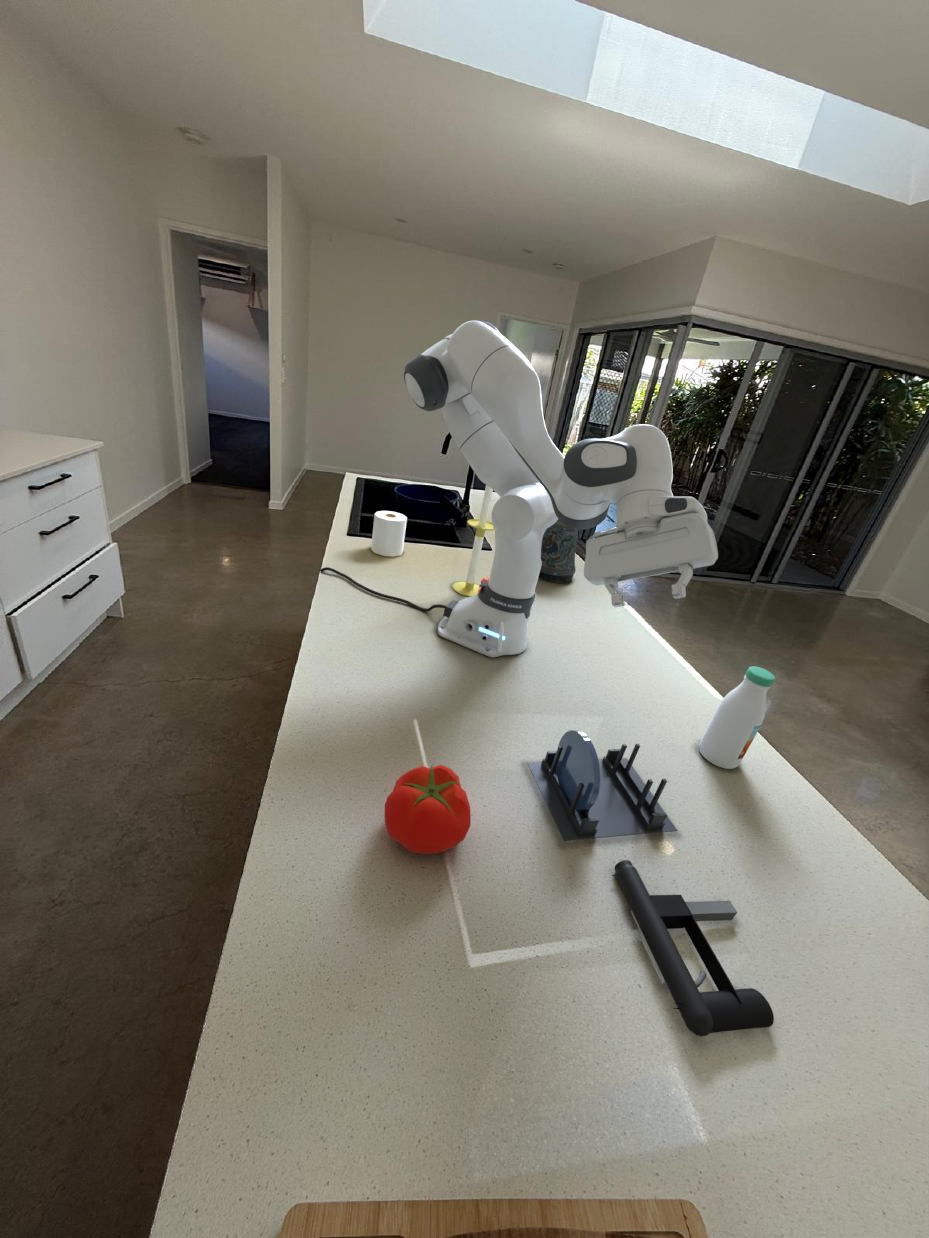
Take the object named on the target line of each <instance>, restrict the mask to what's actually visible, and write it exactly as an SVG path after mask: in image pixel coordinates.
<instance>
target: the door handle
mask: <svg viewBox="0 0 929 1238" xmlns="http://www.w3.org/2000/svg"><path fill="white" fill-rule="evenodd" d="M614 871H615V874H612V875H611V876H612V877H616V880H617V882H618V885H619V886H620V888H621V891H622V892H623V894H624V897H625V899H626V901H627V903H628V905H629V908H630V909H631V910H630V913H631V916H632V918H633V920H634V922H635V924H636V926H637V928H636V932H637V934H638V935H639V938H640V941H641V942H642V944H643V947H644V948H645V950H646V953H647V955H648V957H649V959H650V962H651V965H652V966H653V968H654V970H655V972H656V974H657V976H658V977H657V978H658V979H659V981H660V984H661V985H666V986H667V988H668V990H669V992H670V995H671V997H672V999H673V1001H674V1005H676V1007H673V1008H672V1010H678V1012H679V1014H680V1016H681V1019H682V1020H683V1022H684V1024H685V1026H686V1028H687V1029H688V1030H689V1031H690V1032H691V1034H693V1035H695V1036H697V1037H706V1036H708V1035H710V1034H717V1033H726V1032H734V1031H745V1030H755V1029H763V1028H770V1027H772V1026H773V1025H774V1021H775V1015H774V1011H773V1009H772V1007H771V1005H770V1003H769V1001H768V1000H767V998H766V997H765V996H764V995H763V994H762V993H761V992H760V991H759V990H757V989H756V988H752V987H748V988H735V986H734V985H733V984H732V981H731V980H730V978H729V976H728V974H727V973H726V971H725V969H724V968H723V965H722V964H721V962H720V960H719V959H718V956H716V953H715V952H714V950H713V948H712V947H711V945H710V943H709V941H708V940H707V938H706V936H705V934H704V933H703V931H702V928H701V927H700V926H699V923H698V922H714V921H715V922H717V921H718V922H719V921H732V920H733V919H734V918H735V916H737V914H738V911H737V910H736V907H735V906H734V905H733V903H732V902H731V900H706V901H685V899H684V897H683V896H682V894H650V892H649V891H648V889H647V887H646V886H645V883H644V881H643V880H642V877H641V876H640V873H639V872H638V869H637V868H636V867H635V866H634V865H633V862H632V861H631V860H628V859H623V860H620V861H619V862H617V863H616V864H615V865H614ZM674 929H675V930H677V929H684V930H685V932H686V934H687V936H688V937H689V940H690V941H691V943H692V945H693V947H694V948H695V950H696V952H697V954H698V956H699V957H700V959H701V961H702V964H703V965H704V967H705V969H706V970H707V973H708V975H709V976H710V978H711V980H712V981H713V983H714V985H715V987H716V989H717V990H711V991H700V990H699V987H700V986H701V985H703V983H704V981H705V980H706V977H707V973H706V972H705V971H704V970H700V971H699V975H698V977H697V978H696V979H695V980H694V978H693V977H692V975H691V973H690V971H689V969H688V966H687V964H686V962H685V961H684V959H683V957H682V955H681V953H680V951H679V949H678V947H677V944H675V941H674V939H673V937H672V936H671V934H670V932H669V930H674Z"/></svg>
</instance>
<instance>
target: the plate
mask: <svg viewBox="0 0 929 1238" xmlns="http://www.w3.org/2000/svg"><path fill="white" fill-rule="evenodd" d="M558 746H562V747H563V750H562V753H561V756H560V758H559V761H558V764H557V767H556V769H557V777H558V782H559V786H560V788H561V790H562V792H563V793H564V795H565V797H566V799H567V801H568V803H569V805H570V806H571V804H572V801H573V799H574V796H575V794H576V791H577V788H578V786H579V783H583V784H584V788H583V791H582V793H581V796H580V798H579V801H578V804H577V806H576V809H575V810H587V809H589V808H591V807H592V806H593V805H594V803H595V802H596V800H597V797H598V794H599V789H600V766H599V761H598V760H599V756H598V753H597V750H596V748H595V746H594V744H593V742H592V740H591V738H590V737H589V736H588V735H587V734H586V732H583V731H582V730H579V729H575V730H574V729H573V730H568V731H566V732H565V733H563V735H562V736H561V738H560V740H559V743H558ZM558 746H557V747H558Z"/></svg>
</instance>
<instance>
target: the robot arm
mask: <svg viewBox="0 0 929 1238" xmlns="http://www.w3.org/2000/svg"><path fill="white" fill-rule="evenodd" d="M403 371H404V372H403V381H404V385H405V387H406V390H407V392H408V395H409V396H410V398H411V400H412V401H413V402H414V403H415V405H416V406H417V407H418V408H420V409H421V410H424V411H425V412H433V411H437V410H439V409H441V417H442V419H443V421H444V423H445V426H446V428H447V430H448V432H449V434H450V436H451V438H452V440H453V442H454V443H455V445H456V446H457V448H458V449H459V451H460V453H461V455H462V456H463V457H464V459H465V460H466V462H467V463H468V464H469V466H470V468H471V469H472V471H473V473H475V475H476V477H477V478H478V479H479V481H480V482H482V483H483V484H484V485H485V486H486V485H488V486H489V487H490V488H492V489H493V492H495V493H496V494H497V495H498V496H499V498H498V499H497V501H496V502H495V503H494V505H493V506H492V509H491V515H490V516H491V523H492V524H493V527H494V529H495V530H494V539H495V540H494V555H493V559H492V560H493V561H492V565H491V570H490V575H489V577H488V576H484V577H483V578H482V579H481V581H480V584H479V589H478V594H476V595H474V596H471V597H468V596H467V597H466V598H463V599H460V600H459V601H457V600H455V599H453V600H452V601H450V602H448V603H447V604H439V603H438V604H433V605H431V606H430V607H428V608H425V607H421V606H419V605H417V604H415V603H413V602H411V601H409V600H407V599H404V598H400V597H397V596H393V595H388V594H385V593H382V592H378V591H376V590H374V589H371V588H369V587H367V586H365V585H363V584H361V583H359V582H357V581H356V580H354V579H353V578H351V577H350V576H349V575H347V574H346V573H345V574H344V573H342V572H340V571H339V570H337V569H335V568H331V567H327V566H326V567H325V566H324V567H322V568H321V569H319V572H324V571H328V572H329V571H330V572H332V573H335V574H336V575H338V576H340V577H343V578H345V579H346V580H348V581H349V582H351V583H352V584H354V585H355V586H357V587H358V588H360V589H362V590H364V591H366V592H369V593H370V594H373V595H375V596H378V597H381V598H384V599H388V600H394V601H397V602H400V603H404V604H407V605H409V606H410V607H412V608H414V609H416V610H418V611H422V612H427V613H429V612H431V611H432V610H434V609H436V608H437V609H444V610H443V615H442V616H443V617H442V619H441V620H440V622H439V623H438V626H437V634H438V636H439V637H441V638H444V639H446V640H449V641H451V642H453V643H456V644H458V645H461V646H463V647H465V648H467V649H470V650H472V651H474V652H477V653H479V654H482V655H484V656H486V657H489V658H497V657H502V656H512V655H513V656H515V655H519V654H521V653H523V652H525V651H526V649H527V647H528V641H527V640H528V638H527V637H528V636H527V635H528V623H529V618H530V616H531V615H532V611H533V608H534V605H535V598H536V592H535V591H536V589H537V584H538V580H539V578H538V577H539V573H540V569H541V565H542V561H541V544H542V538H543V535H544V533H545V531H546V529H547V528H549V527H550V526H552V525H553V524H555V523H556V522H557V520H558V519H559V520H560V521H561V522H562V523H563V524H564V525H566V526H568V527H570V528H574V529H578V530H589V529H593V528H595V527H597V526H599V525H601V524H602V523H603V522H604V521H605V519H606V518H607V517H608V514H609V511H610V508H611V503H612V502H613V503H615V504H616V527H612V528H611V527H610V528H608V529H605V530H599V531H596V532H593V535H591V536H590V537H589V538H588V539H587V540H586V542H585V558H584V567H583V576H584V578H585V579H586V581H587V582H589V583H590V584H592V585H593V586H595V587H599V586H604V587H605V588H606V590H607V592H608V593H609V595H610V596H611V605H612V607H614V608H620V607H621V608H623V607H625V604H626V603H625V600H626V598H625V597H626V596H625V595H624V594H622V593H619V592H618V591H617V590H616V589H618V588H619V583H620V582H627V581H631V580H637V579H642V578H649V577H653V576H654V577H655V576H659V575H660V576H661V575H664V574H671V573H675V572H679V574H680V576H679V578H678V580H677V583H674V584H671V596H672V597H673V598H674V599H676V600H677V599H684V598H686V596H687V589H686V587H687V586H688V584H689V583H690V581H691V579H692V577H693V575H694V569H700V568H704V567H710V566H713V565H715V563H716V561H717V560H718V559H719V550H718V543H717V539H716V536H715V532H714V530H713V529H712V527H711V525H710V524H709V522H708V515H707V512H706V510H705V508H704V506H703V505H702V504H701V503H700V501H698V500H697V498H695V497H693V496H674V494H673V492H672V483H673V477H674V473H673V471H674V470H673V459H672V452H671V447H670V443H669V440H668V438H667V436H666V435H665V433H664V432H663V431H662V430H661V429H660V428H659V427H656V426H655V425H652V424H644V423H642V424H641V423H639V424H634V425H630V426H628V427H626V428H625V429H623V430H622V431H621V432H619V433H618V434H615V435H613V436H608V437H605V438H586V439H582V440H580V441H578V442H576V443H574V444H573V445H572V446H570V447H569V448H568V449H567V451H566V453H565V455H564V454H563V453H562V452H561V451H560V449H559V448H558V447H557V446H556V445H555V443H554V442H553V440H552V439H551V437H550V435H549V433H548V430H547V427H546V422H545V419H544V411H543V410H544V409H543V399H542V389H541V382H540V379H539V376H538V374H537V372H536V370H535V369H534V366H533V365H532V363H531V362H530V361H529V359H528V358H527V357H526V356H525V355H524V354H523V353H522V352H521V351H520V350H519V348H517V347H516V346H515V344H513V343H512V342H511V341H510V340H509V339H507V338H506V336H504V335H503V334H502V333H501V332H500V331H499V329H498V328H497V327H496V326H495V325H493V324H492V323H490V322H489V321H480V320H476V319H474V320H469V321H468V320H467V321H466V322H465V321H464V323H462V324H461V325H459V326H458V327H456V329H455V330H454V331H453V333H451V334H449V335H447V336H444V337H443V338H442V339H441V340H440V341H437V342H436V343H435V344H433V345H431V346H430V347H429V348H427V349H425V351H423V352H422V353H420V354H416V355H415V356H414V357H412V358H411V359H410V361H409V362H407V364H405V367H404V370H403Z"/></svg>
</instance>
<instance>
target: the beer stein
mask: <svg viewBox="0 0 929 1238" xmlns="http://www.w3.org/2000/svg"><path fill="white" fill-rule="evenodd" d="M578 531H579V529H574V528H570V527H568V526H566V525H564V524H563V523H562V522H561V521H560V520H559V519H558V520H557V522H556V523H555V524H553V525H552V526H550V527H549V528H547V529H546V531H545V533H544V535H543V538H542V544H541V561H542V565H541V569H540V573H539V577H538V579H540V580H542V581H546V582H550V583H555V584H566V583H569V582H571V581H572V580H573V578H574V574H575V573H576V571H577V569H576V568H577V567H576V549H577V548H576V547H577V542H578V534H579V532H578Z"/></svg>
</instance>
